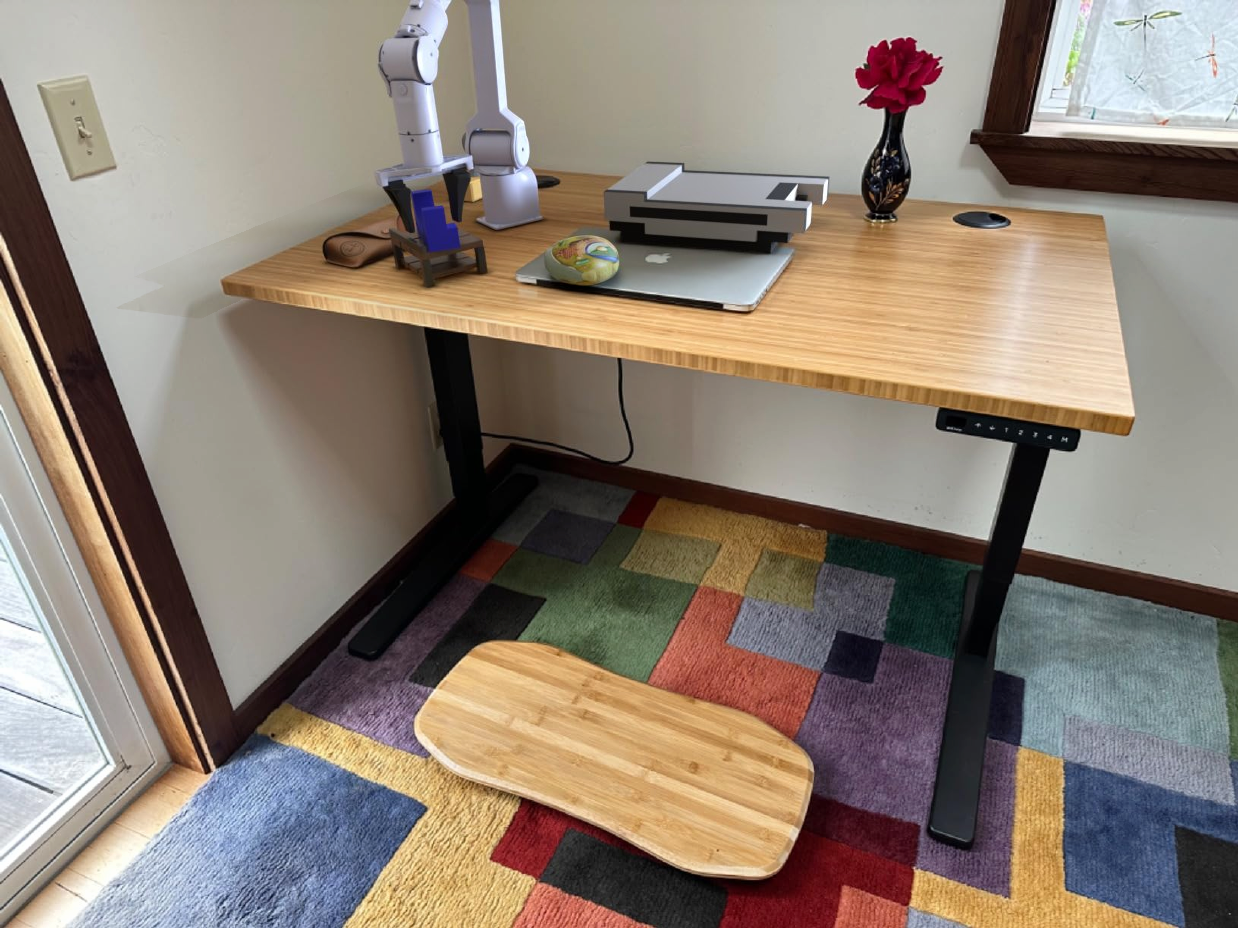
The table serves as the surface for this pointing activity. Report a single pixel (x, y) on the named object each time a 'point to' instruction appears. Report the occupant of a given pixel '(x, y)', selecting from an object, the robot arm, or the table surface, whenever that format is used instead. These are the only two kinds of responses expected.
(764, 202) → the game console
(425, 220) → the blue stepped block
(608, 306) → the table surface
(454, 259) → the rack
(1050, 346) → the table surface
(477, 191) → the rubber stamp
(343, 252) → the sunglasses case
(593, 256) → the cell model
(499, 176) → the robot arm
